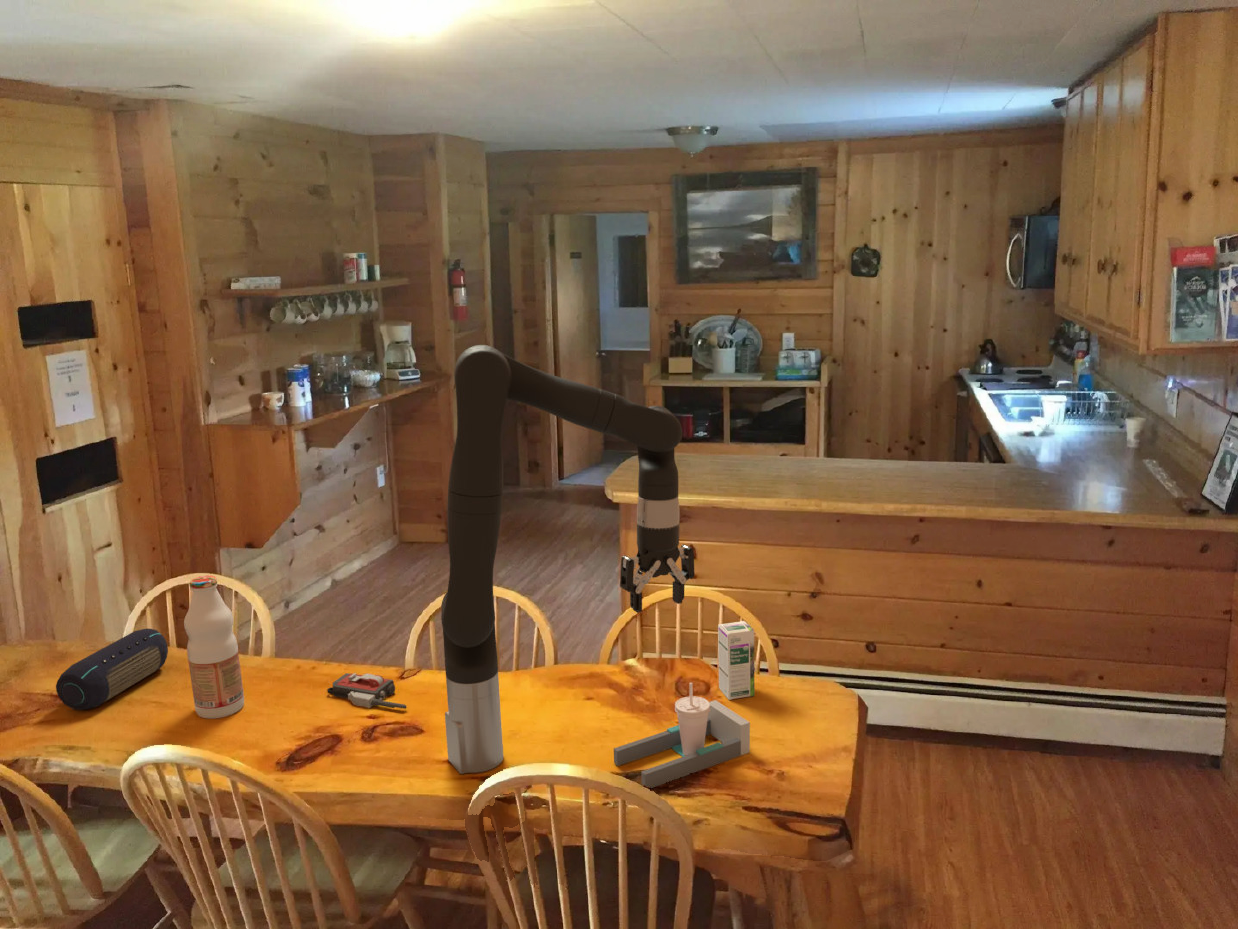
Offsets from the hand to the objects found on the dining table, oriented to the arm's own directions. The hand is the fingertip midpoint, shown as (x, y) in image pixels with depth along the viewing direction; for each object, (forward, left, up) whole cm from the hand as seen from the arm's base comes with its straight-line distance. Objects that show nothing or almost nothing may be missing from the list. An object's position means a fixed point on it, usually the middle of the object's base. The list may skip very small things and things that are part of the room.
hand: (657, 606), depth 180 cm
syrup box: (+24, +8, -27) cm, 37 cm away
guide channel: (0, -7, -27) cm, 28 cm away
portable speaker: (-84, +83, -27) cm, 121 cm away
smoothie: (+3, -7, -27) cm, 28 cm away
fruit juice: (-67, +61, -27) cm, 95 cm away
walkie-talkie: (-39, +48, -28) cm, 68 cm away
